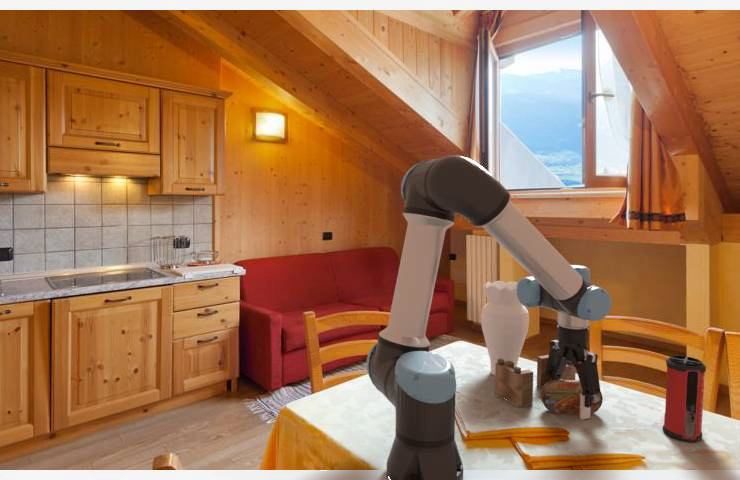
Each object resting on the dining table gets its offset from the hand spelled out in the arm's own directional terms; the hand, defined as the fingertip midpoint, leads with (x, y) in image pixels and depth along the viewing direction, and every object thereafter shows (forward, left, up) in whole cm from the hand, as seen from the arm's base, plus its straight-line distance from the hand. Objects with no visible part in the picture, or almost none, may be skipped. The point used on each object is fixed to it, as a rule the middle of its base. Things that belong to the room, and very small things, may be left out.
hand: (570, 410), depth 120 cm
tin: (0, 0, -1) cm, 1 cm away
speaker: (-19, -15, 0) cm, 24 cm away
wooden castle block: (+12, +1, 0) cm, 12 cm away
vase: (+29, -1, 0) cm, 29 cm away
